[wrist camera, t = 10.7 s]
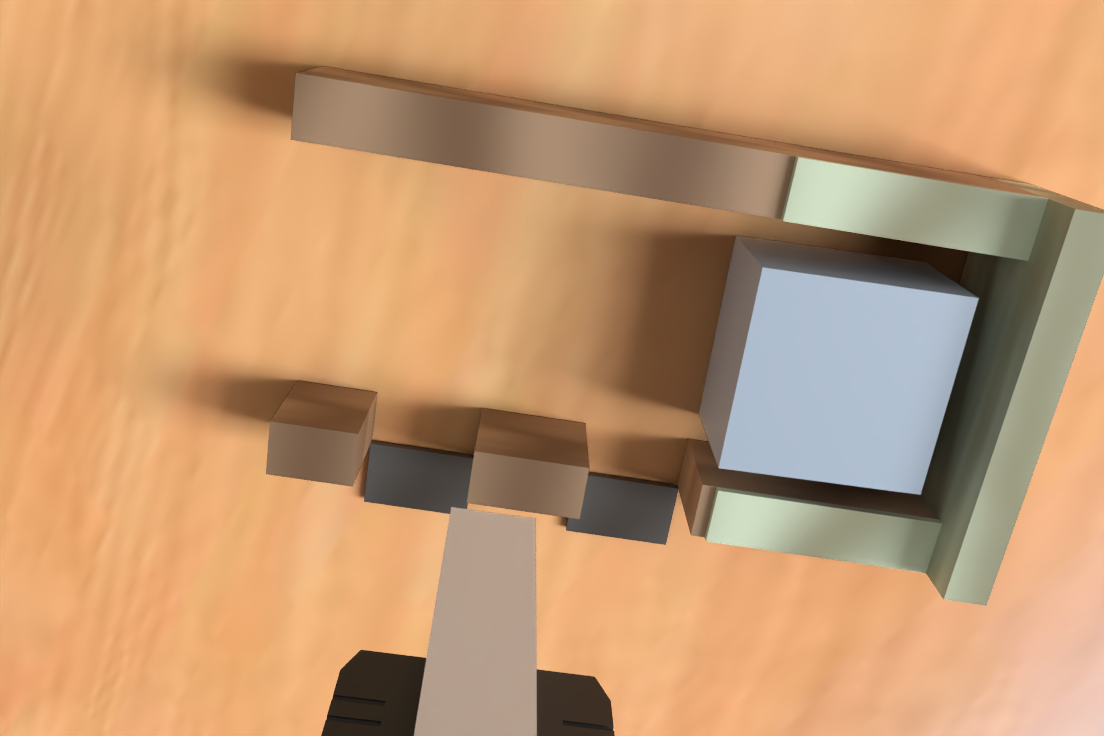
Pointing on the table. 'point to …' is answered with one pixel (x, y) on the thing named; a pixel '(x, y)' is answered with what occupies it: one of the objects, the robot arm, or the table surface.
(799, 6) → the table surface
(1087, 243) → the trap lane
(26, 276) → the table surface
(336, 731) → the robot arm
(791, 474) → the block
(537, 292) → the table surface
